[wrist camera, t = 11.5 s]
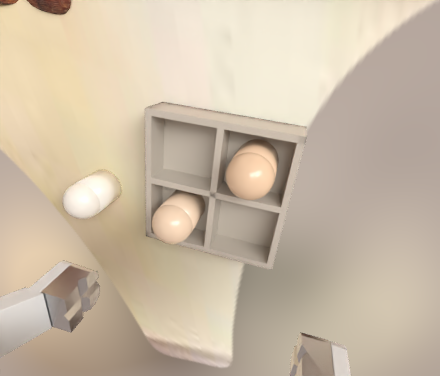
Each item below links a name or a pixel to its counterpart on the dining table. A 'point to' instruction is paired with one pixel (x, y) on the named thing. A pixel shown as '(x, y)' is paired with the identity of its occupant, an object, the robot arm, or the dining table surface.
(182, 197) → the seated egg
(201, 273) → the dining table surface
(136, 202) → the dining table surface
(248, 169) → the brown egg
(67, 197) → the white egg
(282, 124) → the carton
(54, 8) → the brown flat tapered piece
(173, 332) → the dining table surface
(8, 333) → the robot arm
